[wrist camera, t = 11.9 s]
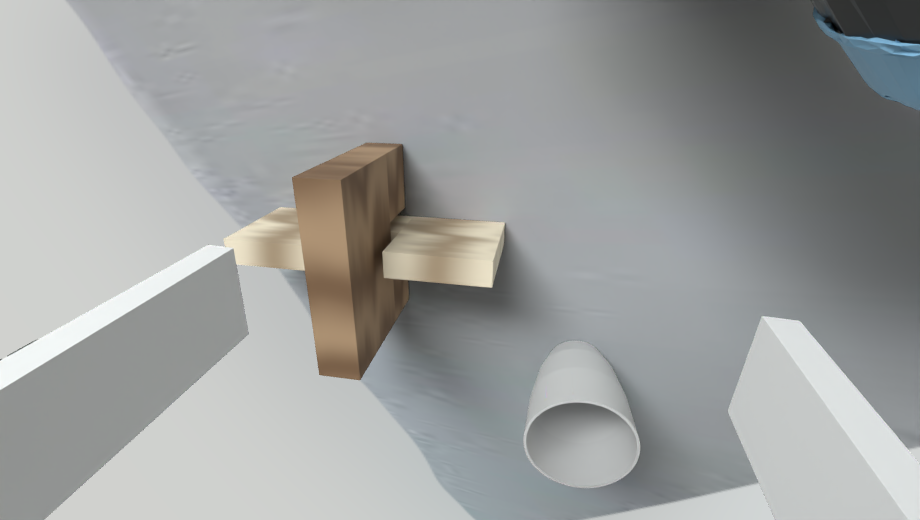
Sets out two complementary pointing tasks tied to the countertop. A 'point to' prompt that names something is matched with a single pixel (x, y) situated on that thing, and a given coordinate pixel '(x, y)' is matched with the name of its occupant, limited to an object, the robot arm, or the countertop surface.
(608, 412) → the cup
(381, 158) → the brown wooden board
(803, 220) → the countertop surface
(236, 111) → the countertop surface
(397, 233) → the maple plate
